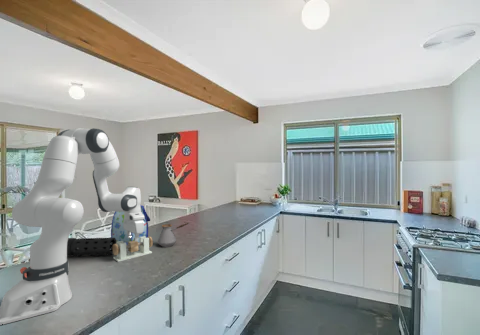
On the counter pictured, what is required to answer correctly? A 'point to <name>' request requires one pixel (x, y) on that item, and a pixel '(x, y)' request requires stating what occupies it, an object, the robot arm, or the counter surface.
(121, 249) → the brackets
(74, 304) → the counter surface
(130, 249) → the brown block with rod
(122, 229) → the lunch bag
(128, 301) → the counter surface
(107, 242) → the black foam roller
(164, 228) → the coffee pot
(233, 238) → the counter surface
